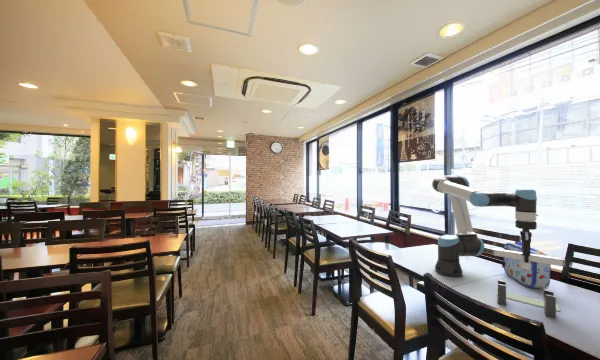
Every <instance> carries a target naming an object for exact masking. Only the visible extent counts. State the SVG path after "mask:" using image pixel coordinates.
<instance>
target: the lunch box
mask: <svg viewBox="0 0 600 360" xmlns="http://www.w3.org/2000/svg"><path fill="white" fill-rule="evenodd" d="M521 249H522V241H515V243H514V242H506V243H504V245H503V250H509V251H516V252H522V250H521ZM530 252H531V254H536V255H543V256H548V254H546V253H545V252H543V251H540V250H538V249H535V248H533V247H531V246H530ZM501 267H502V268H503V269H504V270H503V271H504V272H505V274H506V275H507V276H508V277H510V278H511V279H513V280H515V281H516V282H517V283H519V284H522V285H523V286H524V287H528V288H534V289H543V290H547V289H548V288H549V287H550V284H551V283H550V282H551V267H552V265H551V264H545V263H539V262H532V261H530V270H528V269H523V268H522V260H520V259H514V258H507V257H503V261H502V264H501Z"/></svg>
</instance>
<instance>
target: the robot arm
mask: <svg viewBox="0 0 600 360" xmlns="http://www.w3.org/2000/svg"><path fill="white" fill-rule="evenodd" d="M431 183H432V184H431V185H432V188H433V190H434V191H436V192H438V193H441V194H446V196H447V197H449V198H450V199H449V200H450V203H451V208H452V211H453V212H452V213H453V217H454V221H455V226H456V231H457V233H456V234H455V235H453V234H443V235H440V236H439V237H438V239H437V260H436V263H435V266H434V271H435V272H436V273H438V274H440V275H443V276H446V277H449V278H450V277H452V278H461V277H463V275H464V274H463V273H464V272H463V269H462V265H461V263H460V257H475V256H480V255H482V254H483V253H484V250H485V243H484V241H483V240H482V238H480V237H478V234H477V233H476V232H475V231H474V229H473V224H472V221H471V216H470V212H469V208H468V203H467V202H470V204H471V205H472V206H474V207H480V208H485V207H511V208H515V212H514V213H515V214H514V215H515V216H514V217H515V218H514V219H515V222H514V223H515V228H517V229H521V230H520V231H519V235H520V240H521V242H522V249H521V250H522V252H523V254H521V255H522V268H523V269H528V270H530V255H531V252H530V247H531V242H532V237H533V234H532V232H531V230H532V231H533V230H537V223H538V222H536V221H537V217H538V216H539V213H538V214H537V199H538V198H537V191H536V190H535V189H531V188H530V189H529V188H527V189H526V188H525V189H524V188H518V189H517V188H516V189H515V192H509V191H506V192H505V191H496V192H494V191H492V192H488V191H482V190H479V189H475V188H472V187H470V182H469V179H468V178H467V177H465V176H463V175H458V174H457V175H456V174H455V175H439V176H436V177H434V178H433V180H432V182H431Z"/></svg>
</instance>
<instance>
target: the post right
mask: <svg viewBox="0 0 600 360" xmlns="http://www.w3.org/2000/svg"><path fill="white" fill-rule="evenodd" d="M543 301H544V308H543V312H544V315H545V317H547V318H550V319H554V320H556V319H557V318H556V316H557V314H556V313H557V311H556V304H557V297H556V295H555V294H554V291H552V290H547V289H543Z"/></svg>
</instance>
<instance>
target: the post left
mask: <svg viewBox="0 0 600 360" xmlns="http://www.w3.org/2000/svg"><path fill="white" fill-rule="evenodd" d="M497 290H498V296H497V304H498V305H501V306H505V307H506V306H507V298H506V292H507V281H505V280H500V279H497Z"/></svg>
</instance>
